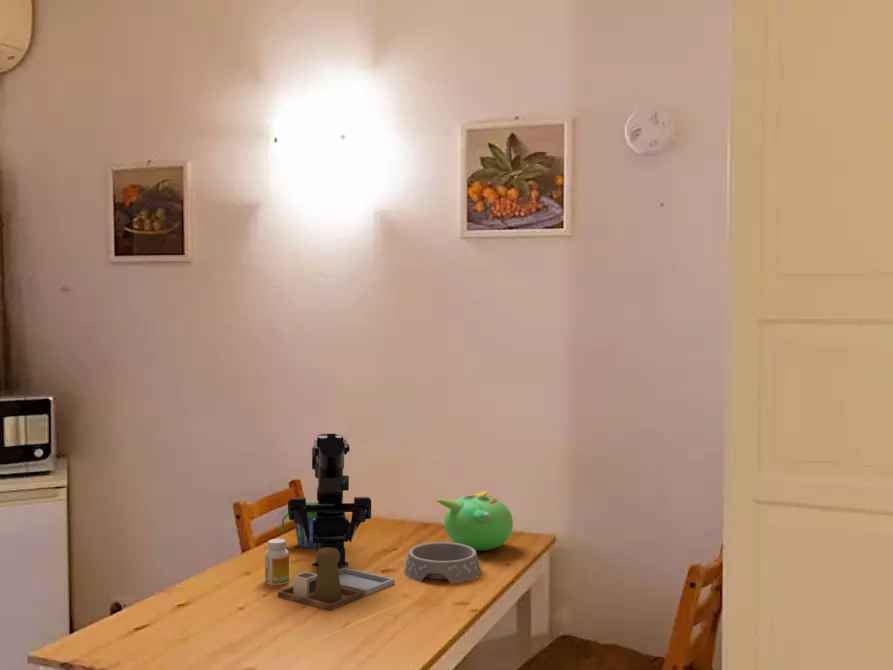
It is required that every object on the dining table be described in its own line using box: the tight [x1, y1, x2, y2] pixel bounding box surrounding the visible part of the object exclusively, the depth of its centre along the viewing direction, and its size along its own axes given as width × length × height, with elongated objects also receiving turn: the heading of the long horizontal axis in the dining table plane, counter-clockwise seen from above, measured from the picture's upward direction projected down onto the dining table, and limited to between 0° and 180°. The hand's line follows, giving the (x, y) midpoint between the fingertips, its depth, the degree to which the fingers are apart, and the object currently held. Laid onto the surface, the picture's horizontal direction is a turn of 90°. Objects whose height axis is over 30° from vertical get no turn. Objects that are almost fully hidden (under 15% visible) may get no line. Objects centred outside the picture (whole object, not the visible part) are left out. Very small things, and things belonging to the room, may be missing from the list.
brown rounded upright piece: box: [314, 547, 342, 603], centre depth 208 cm, size 6×6×11 cm
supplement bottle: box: [264, 538, 290, 586], centre depth 220 cm, size 5×5×10 cm
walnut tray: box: [277, 585, 363, 612], centre depth 209 cm, size 15×10×2 cm
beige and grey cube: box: [292, 571, 317, 598], centre depth 212 cm, size 4×4×4 cm
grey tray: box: [338, 566, 396, 597], centre depth 219 cm, size 15×10×2 cm
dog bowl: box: [403, 541, 482, 584], centre depth 229 cm, size 17×18×5 cm
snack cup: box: [281, 501, 318, 549], centre depth 252 cm, size 16×10×10 cm
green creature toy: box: [436, 490, 514, 552], centre depth 249 cm, size 18×17×15 cm
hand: (329, 541), depth 214 cm, fingers open, 9 cm apart
